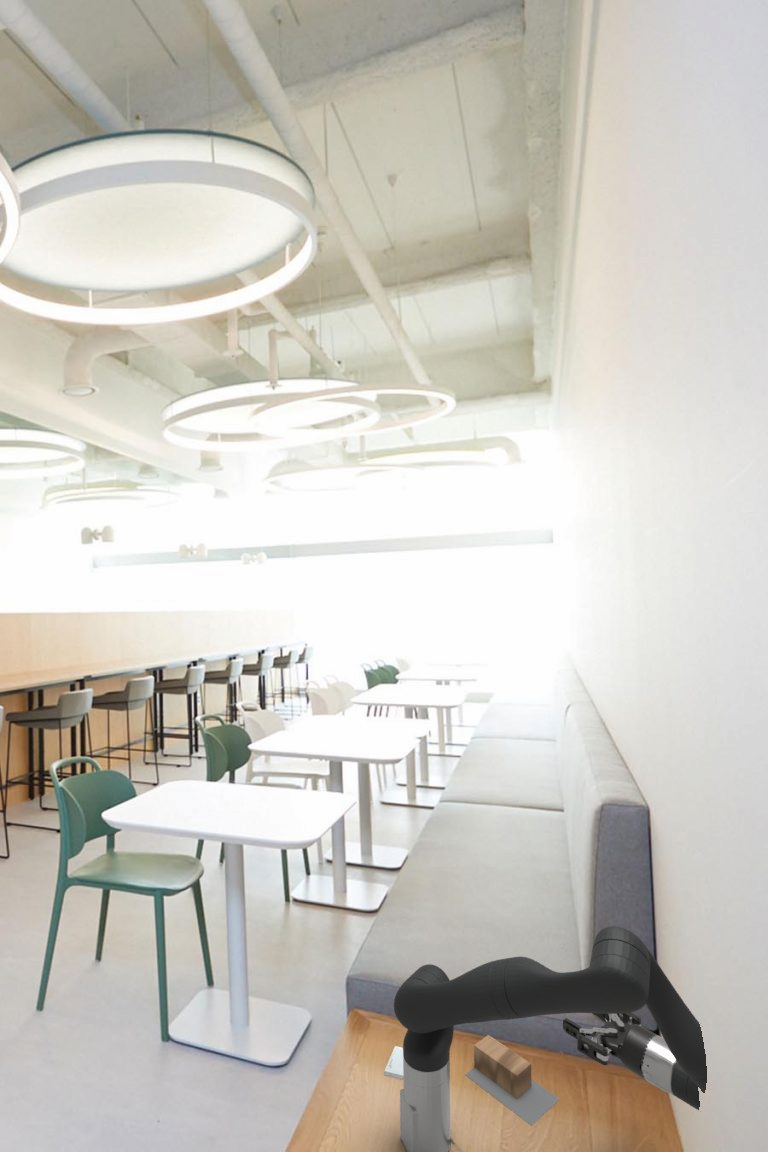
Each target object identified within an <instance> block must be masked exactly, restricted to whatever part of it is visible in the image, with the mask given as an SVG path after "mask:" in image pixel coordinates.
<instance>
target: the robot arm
mask: <svg viewBox="0 0 768 1152" xmlns="http://www.w3.org/2000/svg"><path fill="white" fill-rule="evenodd" d="M645 1005H646V1007H647V1008H648V1010H649V1012H650V1014H651V1015H652V1018H653V1019H654V1021H655V1023H656V1025H657V1027H658V1029H659V1032H660V1033H661V1035H662V1036H660V1035H658V1034H656V1033H654V1032H653V1031H650V1030H649V1029H647V1028H645V1027H643V1026H642V1018H641V1017H639V1016H638V1015H636V1014H634V1012H636V1011H639V1010H641V1009H642V1008H644V1007H645ZM393 1010H394V1015H395V1016H396V1019H397V1020H398V1022H399V1023H400V1024H401V1025H402V1027H404V1028H406V1029H407V1031H406V1033H405V1035H404V1038H403V1042H402V1048H403V1078H404V1080H403V1088H401V1089H399V1115H400V1116H399V1117H400V1118H399V1120H400V1121H399V1123H400V1124H399V1125H400V1127H399V1128H400V1132H399V1134H400V1139H401V1141H402V1143H403V1146H404V1148H405V1150H406V1152H449V1151H450V1148H451V1139H452V1137H451V1134H452V1130H451V1084H450V1083H451V1081H450V1080H451V1075H450V1074H451V1072H450V1071H451V1069H450V1068H451V1063H450V1061H451V1059H450V1057H451V1056H450V1054H451V1053H450V1051H451V1046H452V1044H453V1040H454V1039H453V1038H454V1030H455V1029H454V1026H457V1025H464V1024H475V1023H484V1022H493V1021H495V1022H496V1021H502V1020H506V1021H507V1020H509V1021H510V1020H518V1019H526V1018H532V1017H538V1016H539V1017H540V1016H549V1015H563V1014H592V1015H594V1016H596V1017H598V1018H600V1019H601V1020H603V1021H604V1020H605V1024H604V1025H602V1026H601V1027H595V1026H594V1027H592V1028H585V1027H584V1028H583V1027H582V1025H579V1024H578V1023H576V1022H574V1021H572V1020H571V1019H569V1018H567V1017H565V1018H564V1019H563V1020H562V1029H563V1031H564V1033H566V1034H568V1035H569V1036H571V1037H573V1038H574V1039H576V1041H577V1042H576V1044H577V1046H576V1050H577V1051H578V1052H580V1053H581V1054H583V1055H585V1056H587V1057H589V1058H590V1059H592V1060H594V1061H596V1062H598V1063H600V1065H602V1066H608V1063H609V1058H610V1057H615V1058H617V1059H619V1060H620V1061H621V1064H623V1067H624V1068H625V1069H626V1070H628V1071H630V1072H632V1073H634V1075H636V1076H639V1077H640V1078H641V1079H643V1080H644V1081H646V1082H648V1083H649V1084H651V1085H653V1086H654V1087H656V1088H658V1089H659V1090H662V1091H663V1092H665V1093H668V1094H670V1095H672V1096H674V1097H676V1098H677V1099H679V1100H680V1101H682V1102H684V1103H686V1104H687V1105H689V1106H690V1107H692V1108H693V1109H695V1110H697V1111H699V1107H700V1101H699V1091H698V1087H699V1088H700V1089H701V1091H702V1092H703V1093H705V1090H706V1083H707V1066H706V1054H705V1049H704V1042H703V1037H702V1031H701V1027H700V1024H701V1023H700V1022H699V1021H698V1019H697V1018H696V1017H695V1015H694V1014H693V1012H692V1011H691V1010H690V1009H689V1007H688V1006H687V1004H686V1003H685V1002H684V1000H683V998H682V997H681V996H680V994H679V993H678V991H677V990H676V988H675V987H674V986H673V984H672V983H671V981H670V980H669V978H668V977H667V975H666V974H665V972H664V971H663V970H662V968H661V966H660V965H659V963H658V962H657V960H656V958H655V957H654V955H653V954H652V952H651V951H650V949H649V948H648V947H647V945H646V944H645V942H644V941H643V940H642V939H640V938H639V936H638V935H636V934H635V933H633V932H632V931H631V930H629V929H627V928H625V927H621V926H616V925H614V926H607V927H606V926H605V927H604V928H602V929H601V930H599V931H598V932H597V934H596V935H595V938H594V941H593V946H592V949H591V955H590V960H589V966H588V967H586V968H584V969H581V970H576V971H568V972H558V971H555V970H552V969H550V968H549V967H547V966H546V965H544V964H542V963H540V962H538V961H536V960H534V959H532V958H529V957H526V956H513V957H508V958H502V959H496V960H492V961H489V962H485V963H484V964H481V965H478V966H477V967H475V968H472V969H471V970H468V971H466V972H465V973H463V974H461V975H459V976H457V977H455V978H453V979H451V980H450V978H449V976H448V975H447V974H446V972H445V971H444V970H443V969H442V968H441V967H439V966H437V965H436V964H430V963H429V964H424V965H422V966H420V967H419V968H418V969H416V970H415V971H414V972H413V973H412V974H411V975H409V977H408V978H407V979H406V980H405V981H404V982H403V983H402V984H401V985H400V987H399V988H398V990H397V992H396V993H395V996H394V999H393ZM620 1014H621V1015H622V1016H621V1015H620ZM699 1023H700V1024H699ZM587 1036H589V1037H591V1039H590V1038H588V1037H587ZM598 1036H599V1037H598ZM598 1038H599V1042H598Z"/></svg>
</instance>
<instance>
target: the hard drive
mask: <svg viewBox="0 0 768 1152" xmlns="http://www.w3.org/2000/svg"><path fill="white" fill-rule="evenodd" d="M383 1075H384V1076H387V1077H391V1078H395V1079H400V1080H403V1081H404V1078H403V1046H402V1047H401V1046H396V1045H394V1048H393V1050H392V1053H391V1054H390V1057H389V1059H388V1062H387V1064H386V1067H385V1068H384V1074H383Z"/></svg>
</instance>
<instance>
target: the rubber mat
mask: <svg viewBox="0 0 768 1152" xmlns="http://www.w3.org/2000/svg"><path fill="white" fill-rule="evenodd" d="M464 1075H465V1077H467V1078H468V1079H470V1080H471V1081H472V1082H474V1083H475V1084H476V1085H477V1086H478V1087H480V1088H481V1089H482V1090H484V1091H485V1092H486V1093H487V1094H489V1095H490V1096H491V1097H493V1098H494V1099H496V1100H497V1101H498V1102H499V1103H501V1104H502V1105H503V1106H504V1107H506V1108H507V1109H508V1110H510V1111H511V1112H513V1113H514V1114H515V1115H516V1116H518V1117H519V1118H521V1119H522V1120H523V1121H524V1122H525V1123H527V1124H528V1125H529V1126H531V1127H533V1126H534V1124H535V1123H537V1122H538V1121H539V1120H540V1119H541V1118H542V1117H543V1116H544V1115H545V1114H546V1113H547V1112H548V1111H550V1110H551V1109H552V1107H554V1106H555V1105H556V1104H557V1103H558V1102H559V1101H560V1098H559V1097H558V1096H556V1095H555V1094H554V1093H552V1092H550V1091H549V1090H548V1089H546V1088H545V1087H543V1086H542V1085H540V1084H539V1083H538V1082H536V1081H535V1080H533V1079H532V1078H531V1083H532V1087H531V1088H530V1089H528V1090H527V1091H526V1092H525V1093H524V1094H523V1095H522V1096H520V1097H519V1098H518V1099H516V1098H515V1097H514V1096H512V1095H511V1094H510V1093H508V1092H507V1091H506V1090H504V1089H503V1088H502V1087H500V1086H499V1085H498V1084H496V1083H495V1082H493V1081H492V1080H491V1079H489V1078H488V1077H487V1076H485V1075H484V1074H483V1073H481V1072H480V1071H479V1070H477V1069H476V1068H475V1067H474V1066H473V1068H472V1069H471V1070H469V1071H467V1073H465V1074H464Z"/></svg>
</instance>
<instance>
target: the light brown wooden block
mask: <svg viewBox="0 0 768 1152" xmlns="http://www.w3.org/2000/svg"><path fill="white" fill-rule="evenodd" d="M473 1057H474V1058H473V1061H474V1062H473V1063H474V1064H473V1065H474V1066H473V1068H474V1067H475V1068H476V1069H477V1070H479V1071H480V1072H481V1073H483V1074H484V1075H485V1076H487V1077H488V1078H489V1079H491V1080H492V1081H493V1082H495V1083H496V1084H498V1085H499V1086H500V1087H502V1088H503V1089H504V1090H506V1091H507V1092H508V1093H510V1094H511V1095H512V1096H514V1097H515V1098H516V1099H518V1098H519V1097H520V1096H522V1095H523V1094H524V1093H525V1092H526V1091H527V1090H528V1089H530V1088H531V1087H532V1083H531V1079H532V1063H531V1062H529V1061H528V1060H527V1059H525V1058H524V1057H522V1056H521V1055H520V1054H517V1053H516V1052H514V1051H513V1050H512V1049H510V1048H509V1047H508V1046H505V1045H504V1044H502V1043H501V1042H500V1041H498V1040H497V1039H495V1038H494V1037H492V1036H491V1035H489V1034H487V1035H486V1036H485V1037H483V1038H482V1039H480V1040H479V1041H478V1042H476V1043H475V1044H474V1045H473Z"/></svg>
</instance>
